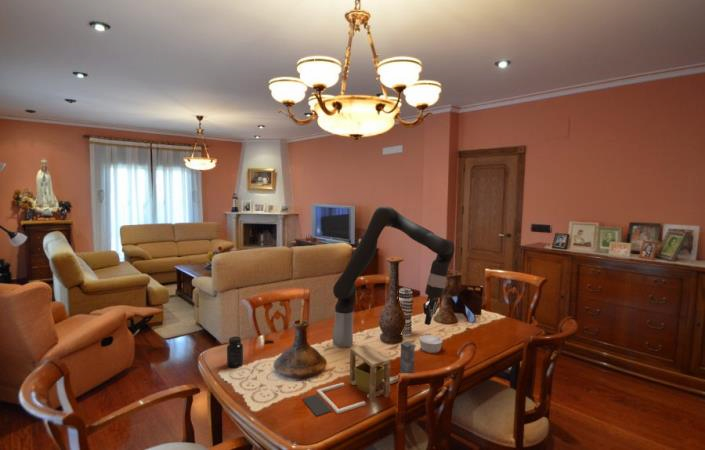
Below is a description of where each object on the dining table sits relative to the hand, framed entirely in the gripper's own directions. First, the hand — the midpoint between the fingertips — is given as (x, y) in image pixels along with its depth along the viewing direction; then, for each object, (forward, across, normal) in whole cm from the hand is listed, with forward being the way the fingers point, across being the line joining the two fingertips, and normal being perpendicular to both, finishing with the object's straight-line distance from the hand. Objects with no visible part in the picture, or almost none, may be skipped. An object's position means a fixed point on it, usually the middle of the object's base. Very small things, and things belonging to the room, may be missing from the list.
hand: (427, 324), depth 160 cm
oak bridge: (+26, +24, -9) cm, 36 cm away
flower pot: (+26, +24, -9) cm, 37 cm away
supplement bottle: (+36, +42, -66) cm, 86 cm away
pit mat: (+30, +44, -17) cm, 56 cm away
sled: (+24, +16, -5) cm, 30 cm away
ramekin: (+18, -27, -5) cm, 33 cm away
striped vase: (+19, -37, -26) cm, 49 cm away
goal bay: (+29, +35, -14) cm, 47 cm away
